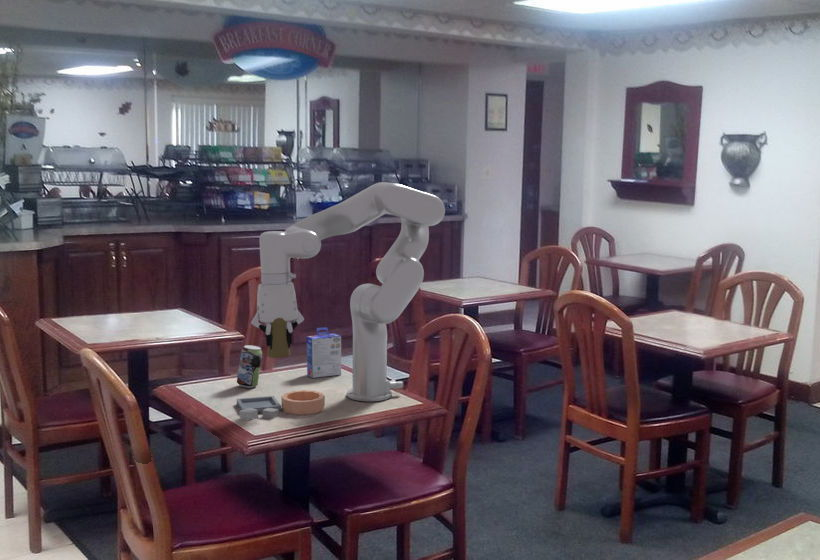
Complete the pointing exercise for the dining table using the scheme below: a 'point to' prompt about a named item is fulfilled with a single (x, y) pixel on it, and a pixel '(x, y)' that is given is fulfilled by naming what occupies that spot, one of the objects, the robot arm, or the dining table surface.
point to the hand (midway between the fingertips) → (279, 346)
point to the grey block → (270, 413)
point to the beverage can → (249, 366)
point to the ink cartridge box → (323, 354)
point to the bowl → (303, 402)
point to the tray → (258, 403)
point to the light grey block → (249, 413)
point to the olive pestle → (279, 339)
